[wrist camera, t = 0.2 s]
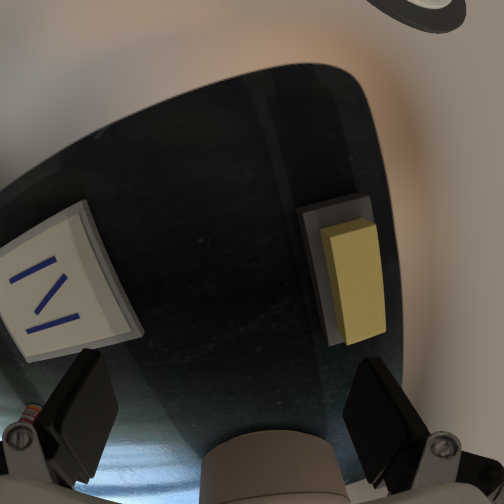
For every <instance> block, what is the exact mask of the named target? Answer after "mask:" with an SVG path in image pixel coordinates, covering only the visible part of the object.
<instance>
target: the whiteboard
mask: <svg viewBox="0 0 504 504" xmlns="http://www.w3.org/2000/svg"><path fill="white" fill-rule="evenodd" d="M0 316H1V318H2V320H3V322H4V324H5V326H6V327H7V329H8V331H9V333H10V335H11V336H12V338H13V340H14V342H15V343H16V345H17V347H18V348H19V350H20V352H21V353H22V355H23V356H24V357H25V359H26V361H27V362H28V363H29V362H35V361H40V360H45V359H49V358H54V357H59V356H64V355H68V354H73V353H77V352H81V351H82V349H83V348H89V349H95V348H99V347H103V346H107V345H111V344H116V343H120V342H124V341H128V340H131V339H135V338H139V337H142V336H143V334H144V332H145V331H144V329H143V327H142V325H141V323H140V321H139V319H138V317H137V315H136V313H135V311H134V309H133V308H132V306H131V304H130V302H129V300H128V297H127V295H126V293H125V291H124V289H123V287H122V285H121V283H120V281H119V279H118V276H117V274H116V272H115V270H114V268H113V265H112V263H111V261H110V259H109V256H108V254H107V252H106V249H105V247H104V244H103V242H102V240H101V237H100V235H99V232H98V230H97V227H96V224H95V222H94V219H93V217H92V214H91V211H90V208H89V206H88V203H87V200H86V199H85V200H82V201H79V202H77V203H76V204H74V205H72V206H70V207H68V208H66V209H64V210H63V211H61V212H59V213H57V214H55V215H54V216H52V217H50V218H48V219H47V220H45V221H43V222H41V223H40V224H38V225H36V226H35V227H33V228H31V229H30V230H28V231H26V232H25V233H23V234H22V235H20V236H18V237H17V238H15V239H14V240H12V241H11V242H9V243H8V244H6V245H5V246H3V247H2V248H0Z"/></svg>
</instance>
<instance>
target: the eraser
mask: <svg viewBox="0 0 504 504" xmlns="http://www.w3.org/2000/svg"><path fill="white" fill-rule="evenodd" d="M296 213H297V217H298V221H299V225H300V230H301V234H302V238H303V243H304V247H305V252H306V256H307V261H308V265H309V270H310V275H311V279H312V284H313V289H314V294H315V299H316V304H317V309H318V314H319V319H320V325H321V330H322V333H323V335H324V337H325V339H326V341H327V344H328V346H332V345H335V344H338V343H341V342H344V341H345V343H346V345H350V344H353V343H356V342H358V341H361V340H364V339H367V338H370V337H372V336H375V335H378V334H380V333H383V332H386V321H385V304H384V290H383V279H382V269H381V260H380V251H379V243H378V236H377V229H376V224H374V219H373V212H372V207H371V201H370V196H368V195H364V194H360V193H353V194H349V195H345V196H341V197H337V198H333V199H329V200H326V201H322V202H318V203H314V204H310V205H306V206H302V207H299V208H296Z"/></svg>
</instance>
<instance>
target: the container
mask: <svg viewBox="0 0 504 504" xmlns="http://www.w3.org/2000/svg"><path fill="white" fill-rule="evenodd" d="M199 504H351V502H350V499H349V497H348V494H347V492H346V488H345V485H344V482H343V478H342V475H341V472H340V469H339V466H338V463H337V460H336V456H335V453H334V450H333V448H332V446H331V445H330V444H329V443H328V442H327V441H325V440H323V439H321V438H319V437H317V436H314V435H310V434H305V433H301V432H297V431H290V430H265V431H258V432H252V433H248V434H244V435H241V436H238V437H235V438H233V439H231V440H229V441H227V442H224V443H222V444H220V445H218V446H217V447H215V448H213V449H212V450H211V451H209V452H208V453H207V454H206V456H205V457H204V458H203V461H202V465H201V479H200V494H199Z"/></svg>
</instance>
